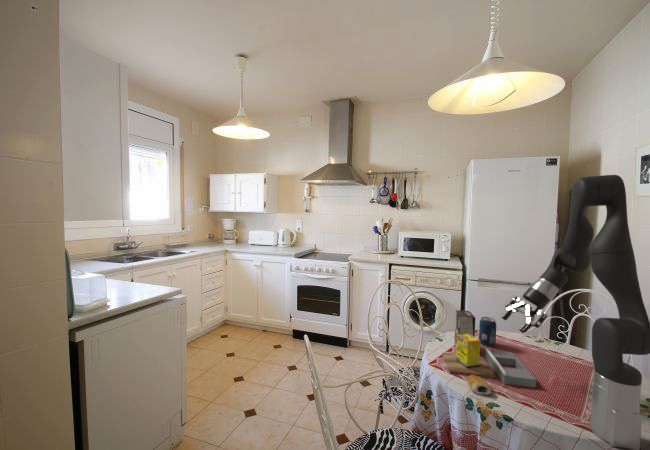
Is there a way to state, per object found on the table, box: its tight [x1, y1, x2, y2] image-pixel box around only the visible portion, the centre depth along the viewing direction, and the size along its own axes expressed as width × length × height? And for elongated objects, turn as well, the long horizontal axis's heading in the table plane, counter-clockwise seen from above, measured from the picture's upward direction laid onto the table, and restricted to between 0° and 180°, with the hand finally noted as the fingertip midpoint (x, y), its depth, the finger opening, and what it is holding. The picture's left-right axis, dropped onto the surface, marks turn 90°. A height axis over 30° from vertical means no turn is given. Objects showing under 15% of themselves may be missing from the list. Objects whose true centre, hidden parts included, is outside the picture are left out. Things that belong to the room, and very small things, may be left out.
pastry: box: [467, 375, 492, 396], centre depth 102 cm, size 9×7×4 cm
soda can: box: [478, 316, 497, 348], centre depth 135 cm, size 7×7×12 cm
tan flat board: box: [441, 352, 496, 379], centre depth 115 cm, size 14×16×1 cm
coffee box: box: [454, 309, 476, 348], centre depth 130 cm, size 9×6×16 cm
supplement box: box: [456, 334, 481, 368], centre depth 115 cm, size 6×6×11 cm
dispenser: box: [484, 346, 537, 389], centre depth 112 cm, size 20×10×4 cm, turn 169°
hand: (511, 325), depth 109 cm, fingers open, 8 cm apart
